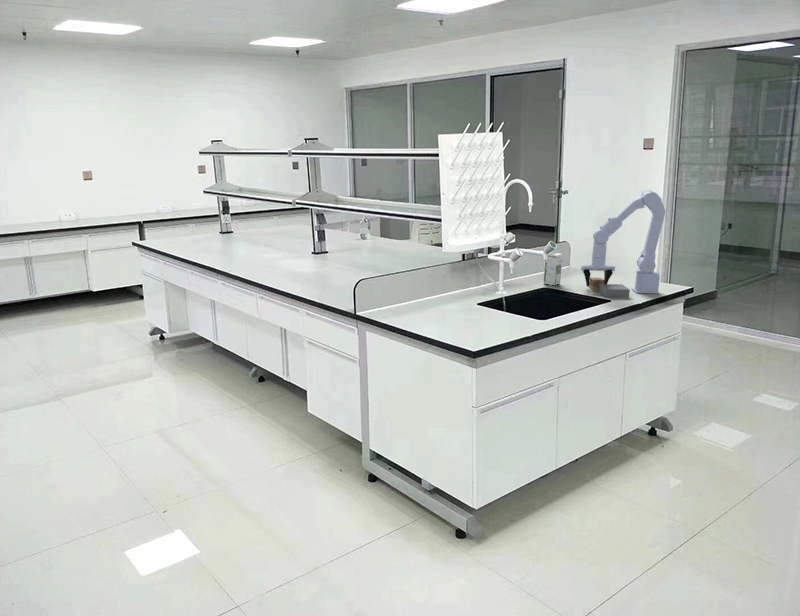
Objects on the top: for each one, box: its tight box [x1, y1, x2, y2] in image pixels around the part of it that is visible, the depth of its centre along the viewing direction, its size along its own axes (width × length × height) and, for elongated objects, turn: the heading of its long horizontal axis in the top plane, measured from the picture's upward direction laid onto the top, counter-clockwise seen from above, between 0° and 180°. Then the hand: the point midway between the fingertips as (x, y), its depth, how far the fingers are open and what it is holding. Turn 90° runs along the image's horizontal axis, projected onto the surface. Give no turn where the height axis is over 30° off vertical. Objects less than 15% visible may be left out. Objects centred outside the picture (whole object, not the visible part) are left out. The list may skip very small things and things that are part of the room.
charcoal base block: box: [598, 283, 631, 299], centre depth 279 cm, size 10×10×4 cm
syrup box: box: [543, 252, 563, 286], centre depth 297 cm, size 6×6×14 cm
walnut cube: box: [588, 277, 604, 292], centre depth 289 cm, size 5×5×5 cm
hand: (596, 286), depth 289 cm, fingers open, 7 cm apart
